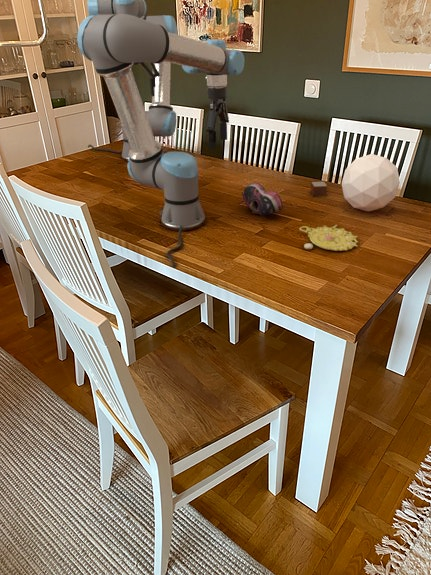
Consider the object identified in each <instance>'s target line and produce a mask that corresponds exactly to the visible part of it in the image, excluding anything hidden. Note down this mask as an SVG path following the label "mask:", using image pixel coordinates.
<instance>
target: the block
mask: <svg viewBox="0 0 431 575" xmlns="http://www.w3.org/2000/svg"><path fill="white" fill-rule="evenodd" d="M310 183H311V184H310V194H311V195H312V197H326V196H327V192H328V191H327V190H328V185H327V184H326V183H325V181H311V182H310Z"/></svg>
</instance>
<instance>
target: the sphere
mask: <svg viewBox="0 0 431 575" xmlns="http://www.w3.org/2000/svg"><path fill="white" fill-rule="evenodd" d="M400 183H401V181H400V176H399V170H398V167H397V165H395V164H394V163H393V162H392V161H390V160H389V159H388V157H385V156H382V155H381V156H380V155H377V154H374V153H370V154H367V155H362V156H360V157H356V158H355V159H354V160H353V161H352V162H351V163H350V164H349V165H348V166H347V167H346V168H345V169H344V173H343V177H342V180H341V188H342V193H343V199H345V200H346V201H347V203H349V204H350V206H352V208H354V209H358V210H361V211H364V212H367V213H368V212H372V211H376V210H379V209H382V208H384V207H385V206H387V205H388V204H390V203H391V201H393V200H394V199H395V198H396V196H397V193H398V190H399V187H400Z"/></svg>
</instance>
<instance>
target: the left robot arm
mask: <svg viewBox="0 0 431 575" xmlns="http://www.w3.org/2000/svg"><path fill="white" fill-rule="evenodd" d="M86 3H87V4H86V7H87V13H88V16H92V15H97V14H103V15H108V14H127V15H132V16H135V17H138V18H141V19H144V20H146V21H149V22H152V23H155V24H158V25H161V26H163V27H165V28H166V30H167V31H168V32H170V33H173V34H177V35H179V30H178V25H177V22H176V20H175V18H174V16H172V15H165V14H162V15H146V13H147V8H148V7H147V3H146V1H145V0H87V2H86ZM147 63H148V64H149V66H150V68H151V70H150V68H149V67H148V66H147V65H146V63H145V62H135V63H133V65H134V66H137V65H139V66H141V67H142V69H143V70H144V71H145V72H146V73H147V75H149V76H150V77H149V88H150V90H149V91H150V96H151V103H150V104H149V106H148V110H147V111H146V110H145V112H146V115H147V118H148V121H149V124H150V127H151V130H152V133H153V136H154V138H156V137H157V138H158V137H159V138H166V137H167V138H168V137H172V136H173V135H175V131H176V128H177V113H176V111H175V110H174V107H173V106H172V105H171V72H172V71H171V68H172V67H171V65H172V63H169V62H164V61H163V62H161V63H159V64H155V63H150V62H147ZM120 125H121V133H122V139H123V140H122V141H123V145H122V150H113V149H108V148H98V147H94V146H93V145H92V144H88V145H87V148H90V147H91V149H93V150H95V151H103V152H110V153H113V154H114V153H115V154H121V159H122V160H123V161H126V162H129V161H128V158H129V151H130V149H131V147H130V145H129V142H128V140H127V137H126V134H125V132H124V129H123V126H122V124H121V123H120Z"/></svg>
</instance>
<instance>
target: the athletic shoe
mask: <svg viewBox="0 0 431 575" xmlns="http://www.w3.org/2000/svg"><path fill="white" fill-rule="evenodd" d="M241 197H242V199H243V201H238V203H239V204H241V205H245V206H246V207H247V208H248V210H249V211H250V210H251V213H252V214H255V215H260V217H266V216H267V215H270V214H274V213H275V212H279V211H282V210H283V209H284V205H283V201H282V198H281V196H280V195H279V194H278V192H277V191H274V190H269V191H267V190H266V189H265V187H264V186H263V185H262V184H261V183H258V182H251V183H249V184H247V186H246V187H245V188H244V190H243V191H242V192H241Z"/></svg>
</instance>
